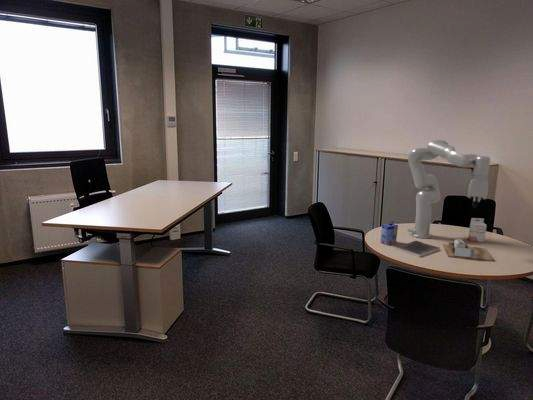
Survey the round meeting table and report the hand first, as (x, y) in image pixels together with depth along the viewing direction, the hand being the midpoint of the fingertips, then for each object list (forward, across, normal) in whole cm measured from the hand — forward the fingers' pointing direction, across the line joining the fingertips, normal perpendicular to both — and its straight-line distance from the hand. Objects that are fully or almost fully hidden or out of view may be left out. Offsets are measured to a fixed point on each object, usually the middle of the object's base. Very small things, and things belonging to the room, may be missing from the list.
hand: (474, 207), depth 233 cm
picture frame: (+29, -30, -9) cm, 42 cm away
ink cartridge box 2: (+28, +9, +24) cm, 38 cm away
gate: (+26, -5, -16) cm, 31 cm away
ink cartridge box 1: (+29, -47, 0) cm, 55 cm away
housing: (+27, -1, -6) cm, 28 cm away
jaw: (+26, -6, -4) cm, 27 cm away
